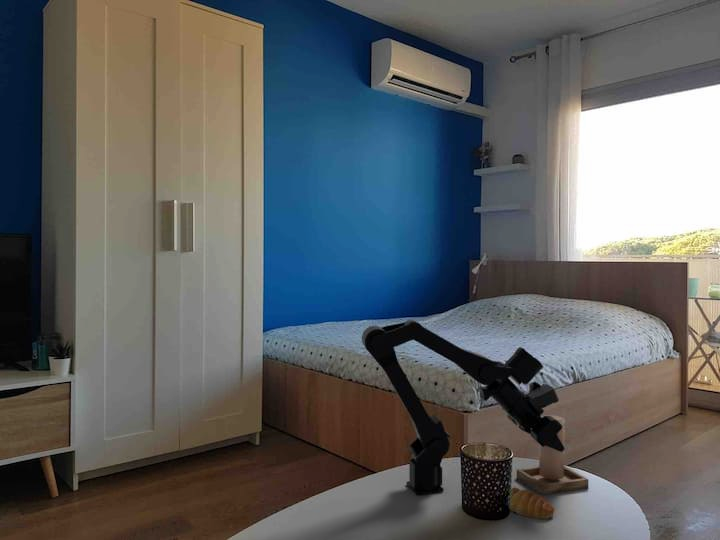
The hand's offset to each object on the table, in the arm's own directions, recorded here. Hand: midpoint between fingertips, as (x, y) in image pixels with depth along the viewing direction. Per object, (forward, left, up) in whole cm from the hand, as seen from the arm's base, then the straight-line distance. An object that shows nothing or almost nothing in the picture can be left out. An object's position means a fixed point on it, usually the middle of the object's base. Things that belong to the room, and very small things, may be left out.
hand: (557, 446), depth 129 cm
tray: (-1, 0, -8) cm, 9 cm away
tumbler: (-1, 0, -7) cm, 7 cm away
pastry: (-14, -10, -9) cm, 19 cm away
